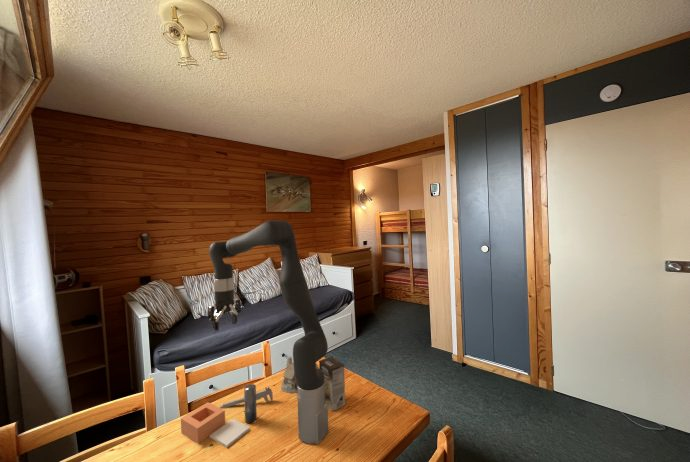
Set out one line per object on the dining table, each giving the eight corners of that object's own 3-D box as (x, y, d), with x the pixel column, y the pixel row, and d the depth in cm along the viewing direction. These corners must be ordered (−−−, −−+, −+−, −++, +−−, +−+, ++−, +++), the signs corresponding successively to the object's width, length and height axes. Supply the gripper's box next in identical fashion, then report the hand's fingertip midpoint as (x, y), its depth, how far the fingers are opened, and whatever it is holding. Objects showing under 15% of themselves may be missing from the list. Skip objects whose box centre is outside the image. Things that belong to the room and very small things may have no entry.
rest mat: (249, 429, 94) (249, 427, 94) (226, 447, 86) (226, 445, 86) (233, 420, 99) (232, 418, 99) (209, 437, 91) (209, 435, 91)
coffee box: (319, 400, 109) (318, 360, 109) (332, 394, 113) (331, 355, 113) (332, 411, 102) (331, 369, 102) (345, 404, 106) (344, 363, 106)
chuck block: (225, 424, 97) (224, 410, 97) (198, 443, 88) (197, 428, 88) (208, 415, 102) (208, 402, 102) (181, 432, 93) (180, 418, 93)
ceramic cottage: (276, 386, 120) (277, 352, 119) (305, 372, 132) (306, 342, 131) (298, 403, 109) (299, 366, 109) (327, 386, 121) (328, 353, 121)
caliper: (272, 400, 110) (272, 385, 110) (272, 402, 109) (272, 387, 109) (219, 407, 107) (219, 391, 107) (219, 409, 106) (218, 393, 106)
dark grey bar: (259, 418, 99) (258, 386, 99) (250, 425, 96) (249, 391, 96) (251, 414, 101) (250, 383, 101) (242, 421, 98) (241, 388, 98)
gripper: (214, 293, 106) (215, 334, 106) (244, 286, 118) (245, 323, 118) (202, 291, 110) (204, 331, 110) (233, 284, 122) (234, 320, 122)
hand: (225, 327), depth 114 cm, fingers open, 8 cm apart
